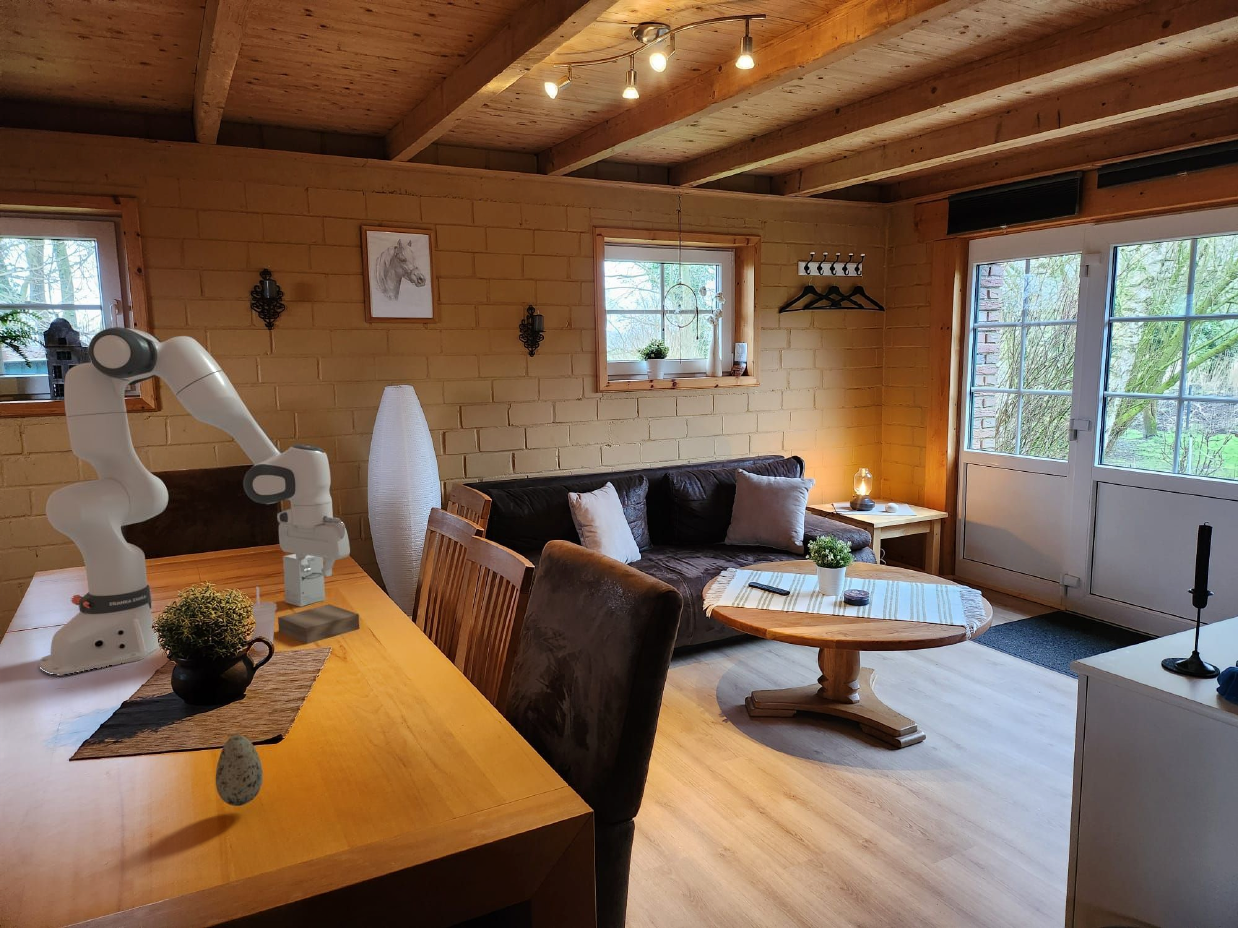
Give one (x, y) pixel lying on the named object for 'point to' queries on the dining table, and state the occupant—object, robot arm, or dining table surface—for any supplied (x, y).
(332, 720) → the dining table surface
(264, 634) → the smoothie
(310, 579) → the supplement box
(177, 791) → the dining table surface
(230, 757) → the decorative egg
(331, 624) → the walnut block
